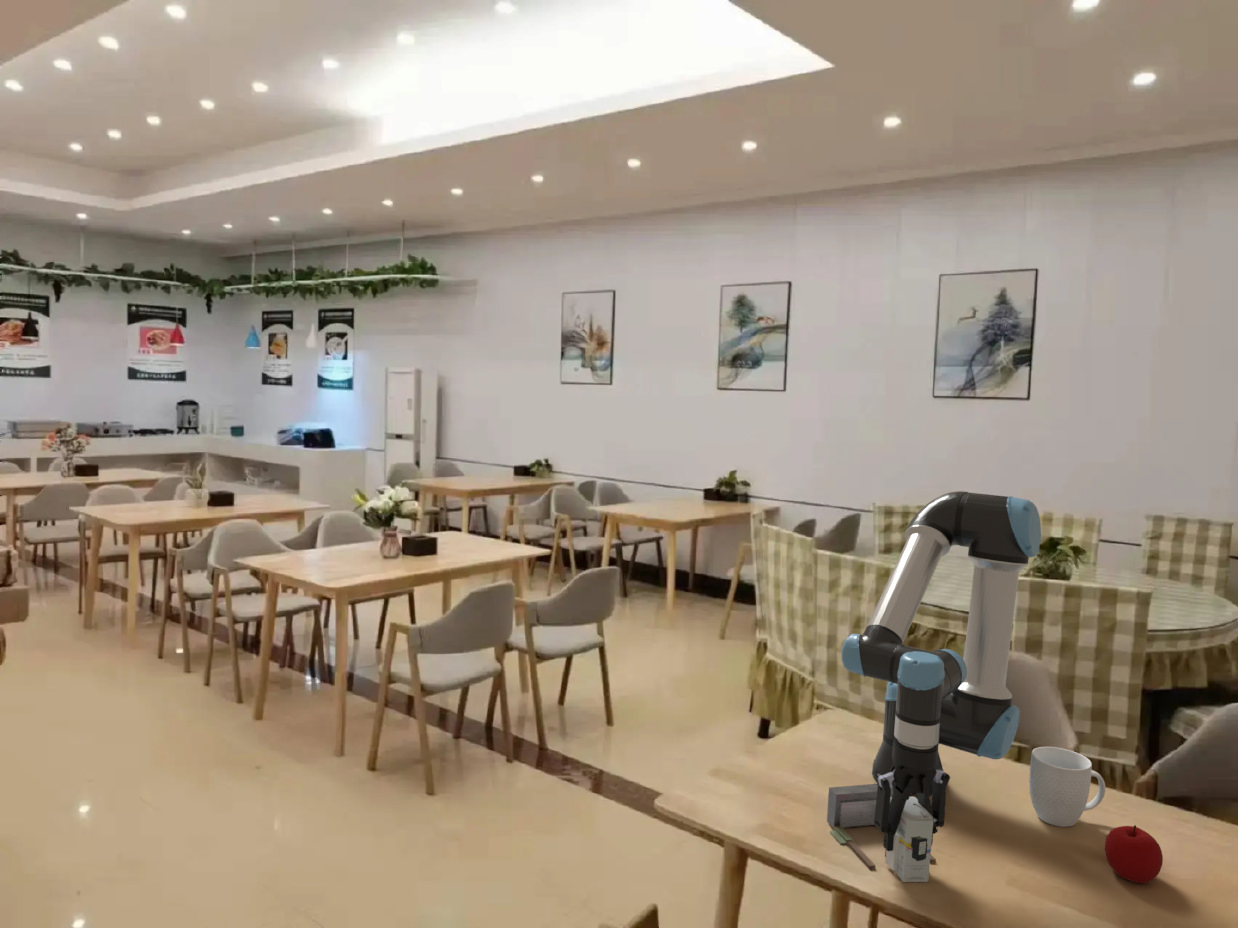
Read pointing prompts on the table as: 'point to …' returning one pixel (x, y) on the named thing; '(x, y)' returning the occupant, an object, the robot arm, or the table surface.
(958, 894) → the table surface
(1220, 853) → the table surface
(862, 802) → the grey block
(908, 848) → the ink box
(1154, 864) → the apple
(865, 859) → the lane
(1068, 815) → the mug
